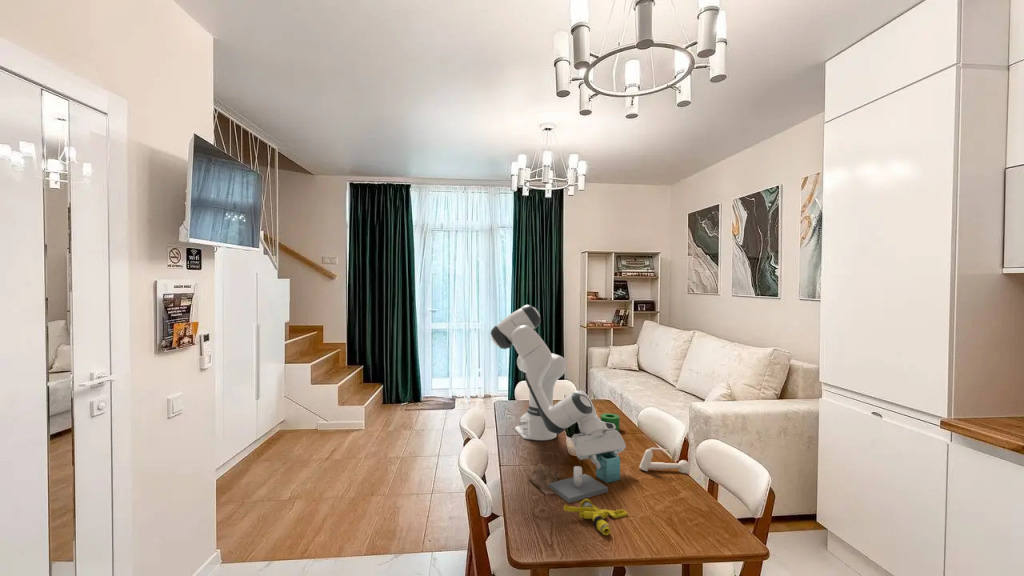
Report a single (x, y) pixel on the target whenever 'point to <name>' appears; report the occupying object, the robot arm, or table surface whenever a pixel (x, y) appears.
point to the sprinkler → (595, 514)
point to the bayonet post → (578, 487)
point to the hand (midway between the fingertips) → (609, 466)
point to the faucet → (661, 463)
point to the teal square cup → (608, 467)
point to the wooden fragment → (544, 478)
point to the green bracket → (611, 419)
